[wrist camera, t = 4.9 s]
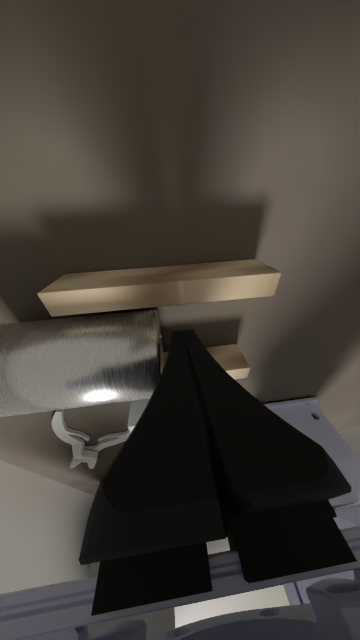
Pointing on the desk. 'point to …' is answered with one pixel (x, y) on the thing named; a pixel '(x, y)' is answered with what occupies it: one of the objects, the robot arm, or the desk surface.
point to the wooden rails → (165, 293)
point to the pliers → (78, 444)
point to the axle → (79, 361)
